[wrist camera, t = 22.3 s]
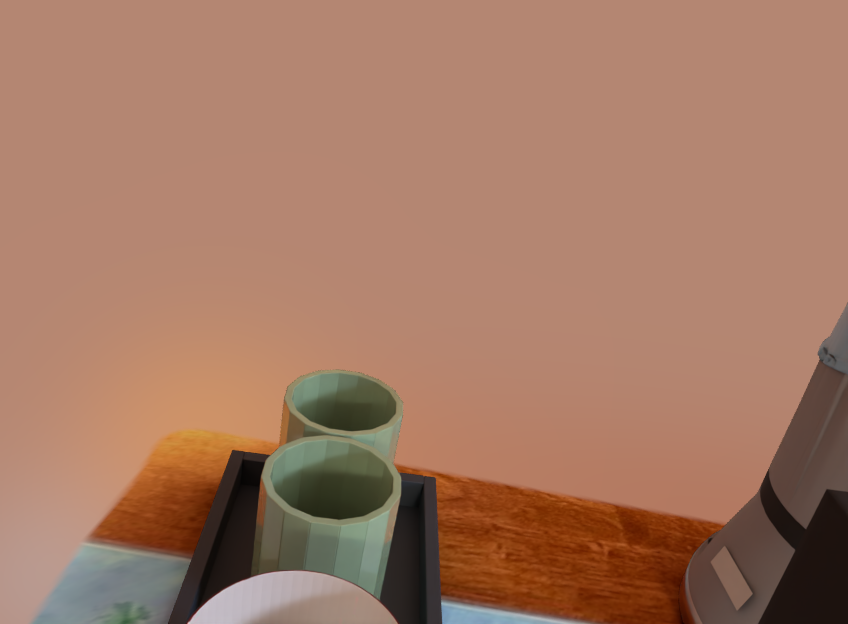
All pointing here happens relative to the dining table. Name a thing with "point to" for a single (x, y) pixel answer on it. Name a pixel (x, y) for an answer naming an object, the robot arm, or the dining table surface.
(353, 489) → the cup
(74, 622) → the dining table surface
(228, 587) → the mug
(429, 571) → the tray
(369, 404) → the cup
